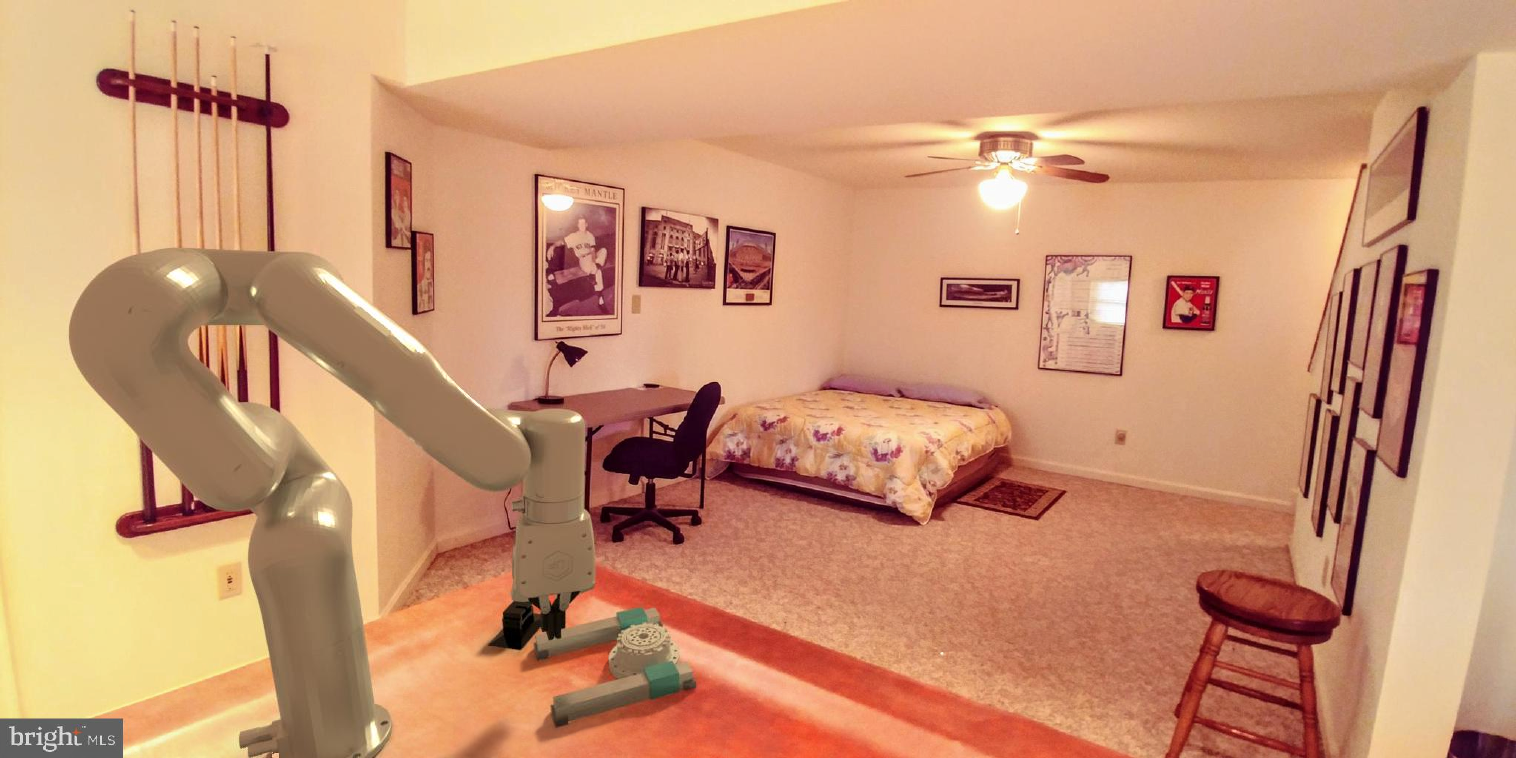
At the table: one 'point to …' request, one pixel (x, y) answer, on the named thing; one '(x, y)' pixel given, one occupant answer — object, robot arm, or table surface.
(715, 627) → the table surface
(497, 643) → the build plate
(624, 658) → the mechanical component
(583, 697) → the bar rails
